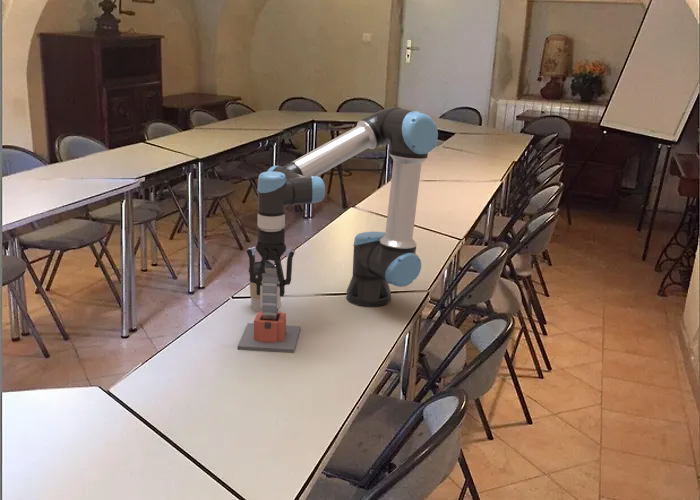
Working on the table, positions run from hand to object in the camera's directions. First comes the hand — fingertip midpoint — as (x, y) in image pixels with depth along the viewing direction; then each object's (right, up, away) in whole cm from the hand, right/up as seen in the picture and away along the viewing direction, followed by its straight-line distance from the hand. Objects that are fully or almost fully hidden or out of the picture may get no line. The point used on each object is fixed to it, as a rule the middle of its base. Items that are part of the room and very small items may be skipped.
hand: (270, 305), depth 206 cm
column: (0, -8, +3) cm, 8 cm away
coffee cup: (-5, -3, +25) cm, 26 cm away
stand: (0, -10, +3) cm, 11 cm away
